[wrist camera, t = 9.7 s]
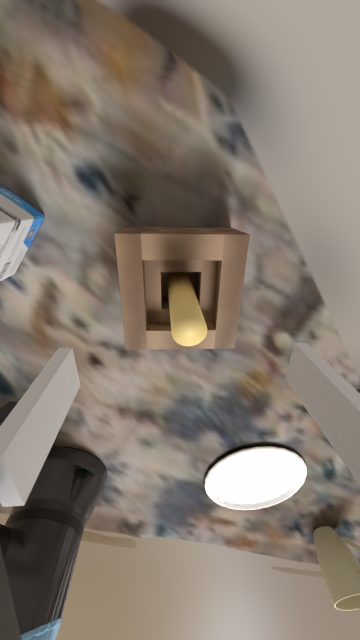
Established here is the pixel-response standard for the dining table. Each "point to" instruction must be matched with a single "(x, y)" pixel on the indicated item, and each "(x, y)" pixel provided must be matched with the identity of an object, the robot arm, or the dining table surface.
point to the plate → (255, 477)
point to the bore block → (180, 256)
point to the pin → (185, 311)
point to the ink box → (15, 230)
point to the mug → (338, 568)
